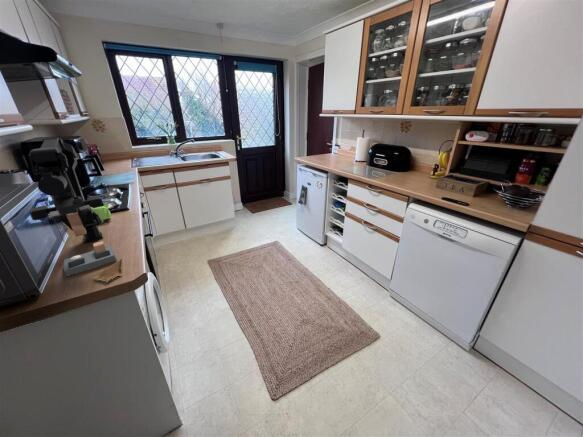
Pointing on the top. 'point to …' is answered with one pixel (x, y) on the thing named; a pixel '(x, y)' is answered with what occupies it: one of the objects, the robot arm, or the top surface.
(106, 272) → the shard
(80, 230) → the brown wooden block
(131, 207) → the top surface
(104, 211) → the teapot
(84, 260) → the board
